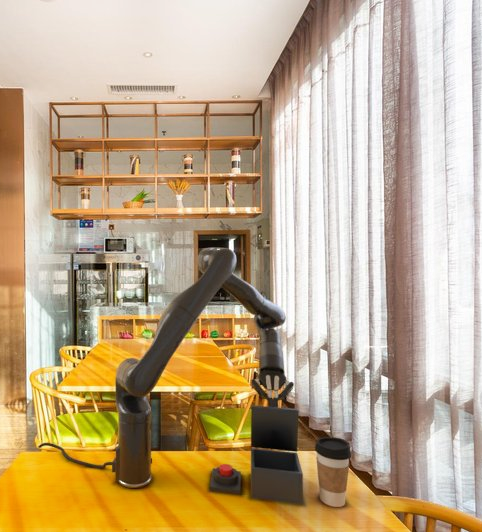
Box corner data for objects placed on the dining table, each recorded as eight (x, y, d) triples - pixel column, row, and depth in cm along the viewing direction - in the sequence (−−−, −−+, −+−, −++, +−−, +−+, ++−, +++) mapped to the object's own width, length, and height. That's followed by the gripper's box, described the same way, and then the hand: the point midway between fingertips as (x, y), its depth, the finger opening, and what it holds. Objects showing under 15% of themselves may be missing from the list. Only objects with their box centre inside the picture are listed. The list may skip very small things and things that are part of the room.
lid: (298, 410, 108) (298, 409, 109) (251, 406, 111) (251, 405, 112) (297, 451, 111) (296, 450, 111) (250, 447, 113) (250, 445, 114)
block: (209, 491, 105) (209, 479, 105) (212, 472, 115) (212, 461, 115) (240, 495, 104) (240, 483, 104) (241, 475, 113) (241, 464, 113)
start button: (218, 476, 108) (218, 469, 108) (219, 469, 112) (219, 463, 112) (232, 477, 107) (232, 471, 107) (232, 470, 111) (232, 464, 111)
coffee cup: (354, 512, 97) (355, 450, 97) (317, 507, 98) (318, 447, 98) (345, 493, 105) (346, 436, 105) (311, 489, 107) (312, 433, 107)
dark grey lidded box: (302, 504, 100) (302, 473, 100) (251, 498, 102) (251, 468, 102) (296, 480, 111) (297, 452, 111) (250, 475, 114) (250, 447, 114)
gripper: (249, 352, 125) (249, 404, 113) (294, 354, 122) (298, 408, 110) (249, 364, 130) (249, 416, 118) (291, 367, 127) (296, 420, 115)
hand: (273, 412), depth 114 cm, fingers closed
